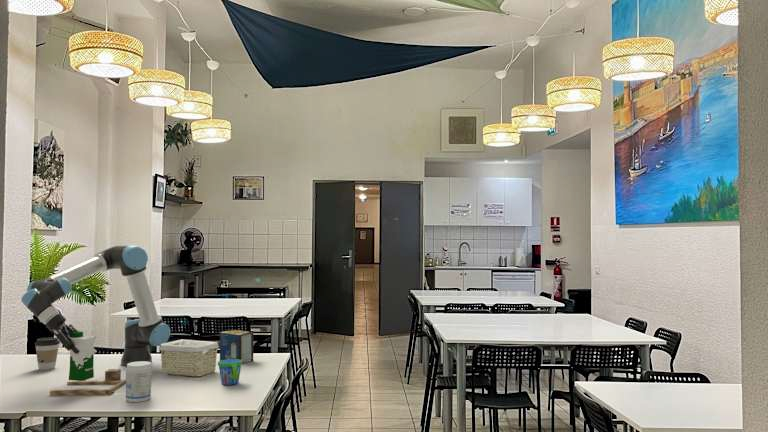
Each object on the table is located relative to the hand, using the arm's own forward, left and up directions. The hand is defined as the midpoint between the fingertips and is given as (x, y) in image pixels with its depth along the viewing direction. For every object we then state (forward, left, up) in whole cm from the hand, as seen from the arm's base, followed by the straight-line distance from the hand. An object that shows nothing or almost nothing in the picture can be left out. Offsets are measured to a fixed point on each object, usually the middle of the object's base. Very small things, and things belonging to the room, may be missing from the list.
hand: (89, 355), depth 264 cm
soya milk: (+3, -1, -10) cm, 10 cm away
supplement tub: (-16, +27, -15) cm, 35 cm away
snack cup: (-56, +19, -15) cm, 61 cm away
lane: (+1, -1, -15) cm, 15 cm away
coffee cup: (+14, -60, -15) cm, 63 cm away
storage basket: (-45, -14, -15) cm, 50 cm away
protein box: (-74, -30, -15) cm, 81 cm away
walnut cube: (-11, -9, -14) cm, 20 cm away
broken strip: (-5, -12, -15) cm, 20 cm away
